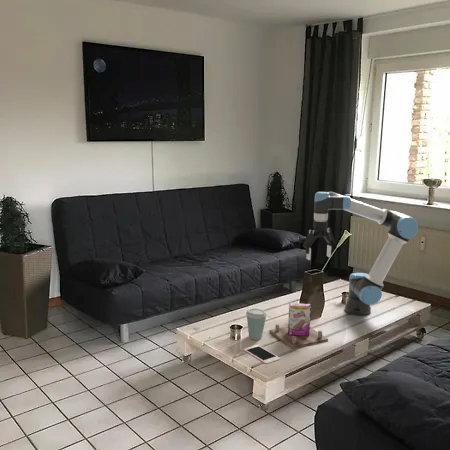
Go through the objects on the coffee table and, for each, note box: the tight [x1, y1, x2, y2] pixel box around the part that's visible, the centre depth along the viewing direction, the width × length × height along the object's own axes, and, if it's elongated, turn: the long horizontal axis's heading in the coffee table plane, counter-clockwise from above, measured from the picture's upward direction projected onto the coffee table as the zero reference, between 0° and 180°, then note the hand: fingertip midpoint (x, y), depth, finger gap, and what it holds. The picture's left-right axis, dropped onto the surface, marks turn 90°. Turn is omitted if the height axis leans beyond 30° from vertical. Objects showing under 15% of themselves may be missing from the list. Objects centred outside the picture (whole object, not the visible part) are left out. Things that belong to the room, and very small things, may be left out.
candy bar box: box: [287, 302, 312, 336], centre depth 261 cm, size 11×5×16 cm, turn 84°
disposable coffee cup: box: [245, 308, 268, 341], centre depth 260 cm, size 11×11×15 cm
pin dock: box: [269, 323, 329, 350], centre depth 263 cm, size 22×22×5 cm
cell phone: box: [243, 344, 281, 365], centre depth 243 cm, size 9×18×1 cm, turn 35°
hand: (318, 258), depth 277 cm, fingers open, 13 cm apart
